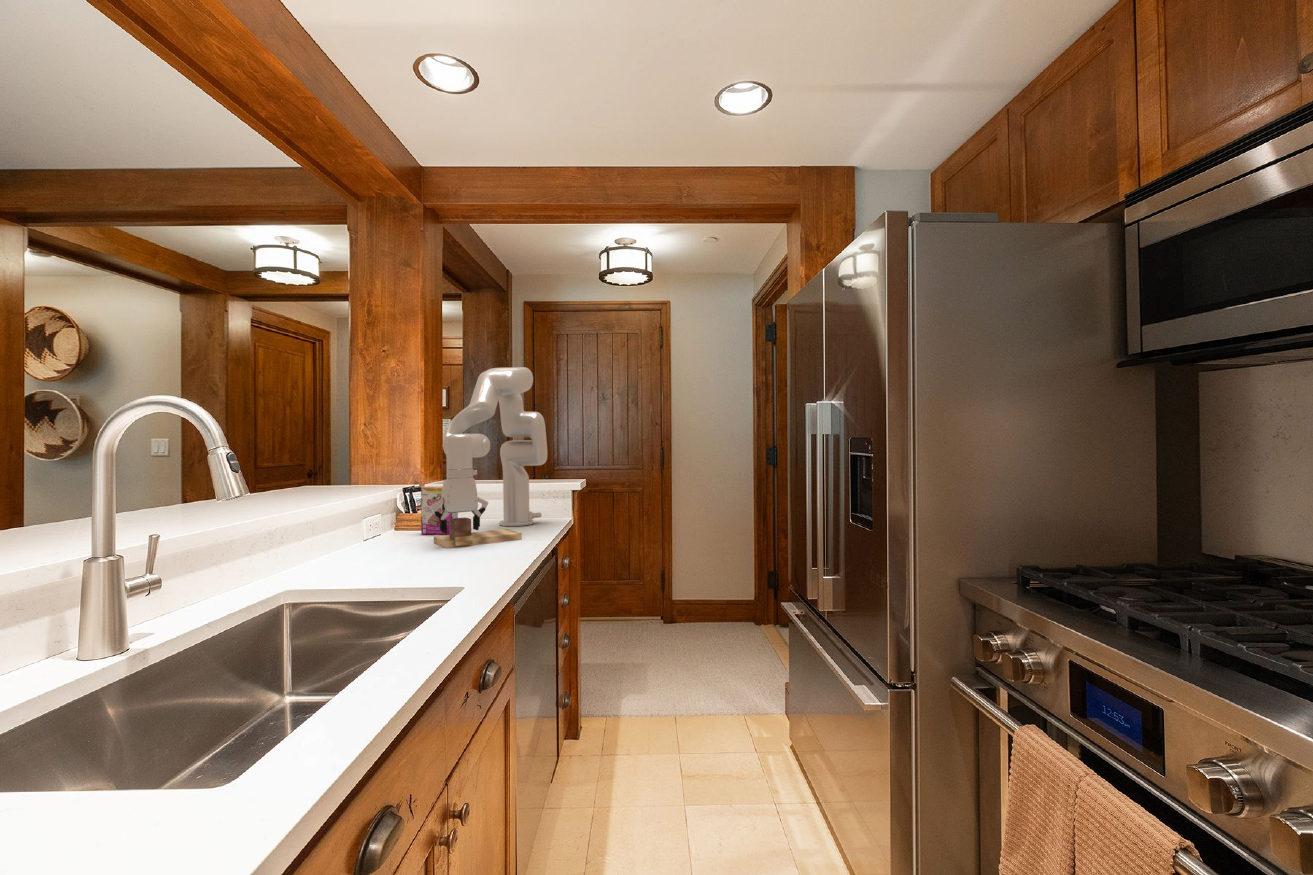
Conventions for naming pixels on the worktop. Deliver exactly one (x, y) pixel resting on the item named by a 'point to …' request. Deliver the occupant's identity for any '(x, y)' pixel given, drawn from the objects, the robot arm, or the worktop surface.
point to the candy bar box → (428, 519)
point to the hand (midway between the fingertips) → (460, 531)
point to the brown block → (460, 531)
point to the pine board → (481, 538)
